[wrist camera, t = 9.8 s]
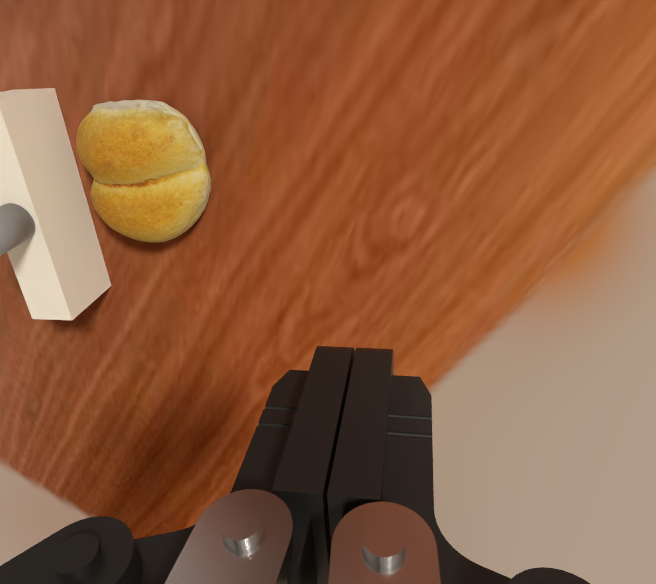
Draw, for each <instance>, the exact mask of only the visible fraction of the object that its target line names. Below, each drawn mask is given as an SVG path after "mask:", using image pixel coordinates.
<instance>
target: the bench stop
mask: <svg viewBox="0 0 656 584" xmlns="http://www.w3.org/2000/svg"><path fill="white" fill-rule="evenodd" d="M6 252H7V253H8V256H9V259H10V261H11V264H12V266H13V269H14V272H15V274H16V277H17V280H18V282H19V285H20V287H21V290H22V293H23V295H24V298H25V300H26V303H27V306H28V308H29V311H30V313H31V316H32V319H49V320H73V319H75V318H76V317H77V316H78V315H79V314H80V313H81V312H82V311H84V310H85V309H86V308H87V307H88V306H89V305H90V304H91V303H93V302H94V301H95V300H96V299H97V298H98V297H99V296H100V295H102V294H103V293H104V292H105V291H106V290H107V289H108V288H109V287H111V283H110V279H109V276H108V272H107V269H106V265H105V262H104V258H103V255H102V252H101V248H100V245H99V241H98V238H97V234H96V231H95V227H94V224H93V220H92V217H91V213H90V210H89V206H88V203H87V199H86V196H85V192H84V189H83V185H82V182H81V179H80V175H79V172H78V168H77V165H76V161H75V158H74V154H73V151H72V147H71V144H70V140H69V137H68V133H67V130H66V126H65V123H64V119H63V116H62V112H61V109H60V106H59V102H58V99H57V95H56V92H55V88H45V89H22V90H9V91H4V92H0V256H1V255H3V254H4V253H6Z"/></svg>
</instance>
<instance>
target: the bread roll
mask: <svg viewBox="0 0 656 584" xmlns="http://www.w3.org/2000/svg"><path fill="white" fill-rule="evenodd" d="M76 148H77V154H78V156H79V158H80V160H81V161H82V164H83V165H84V166H85V168H86V169H87V170H88V172H89V173H90V174H91V175H92V177H93V179H94V180H93V183H92V187H91V194H90V196H91V201H92V204H93V206H94V208H95V210H96V212H97V213H98V215H99V216H100V217H101V219H102V220H103V221H104V222H105V223H106V224H107V225H108V226H109V227H110V228H112V229H113V230H115V231H117V232H119V233H121V234H123V235H125V236H127V237H129V238H132V239H135V240H139V241H143V242H165V241H168V240H171V239H174V238H176V237H178V236H180V235H181V234H182V233H184V232H185V231H187V230H188V229H189V228H191V227H192V226H193V224H194V223H196V221H197V220H198V219H199V217H200V216H201V214H202V213H203V211H204V210H205V208H206V205H207V203H208V199H209V194H210V191H211V176H210V174H209V170H208V167H207V164H206V154H205V151H204V147H203V144H202V142H201V140H200V137H199V136H198V134H197V132H196V130H195V129H194V127H193V126H192V125H191V123H190V122H189V121H188V119H187V118H186V117H185V116H184V115H183V114H182V113H180V112H179V111H177V110H176V109H174V108H172V107H171V106H169V105H168V104H166V103H164V102H159V101H150V100H122V101H118V102H111V101H109V102H106V103H102V104H96V105H93V109H92V111H91V112H90V113H89V114H88V115H87V116H86V117H85V118H84V119H83V121H82V122H81V124H80V126H79V129H78V132H77V138H76Z"/></svg>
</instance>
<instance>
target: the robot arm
mask: <svg viewBox="0 0 656 584" xmlns="http://www.w3.org/2000/svg"><path fill="white" fill-rule="evenodd" d="M393 372H394V352H393V349H373V348H356V351H355V349H354V348H349V347H327V346H317V348H316V350H315V353H314V357H313V360H312V363H311V366H310V369H309V371H301V370H289V371H288V372H287V373H286V374H285V375H284V376H283V377H282V378H281V379H280V380H279V381H278V382H277V383H276V384H275V385H274V386H273V387H272V390H271V392H270V395H269V397H268V400H267V402H266V405H265V409H264V410H263V412H262V415H261V418H260V420H259V426H257V428H256V430H255V433H254V435H253V438H252V440H251V443H250V445H249V448H248V450H247V453H246V455H245V458H244V460H243V463H242V465H241V468H240V470H239V473H238V475H237V478H236V480H235V483H234V485H233V488H232V490H231V492H230V494H227V495H225V496H223V497H221V498H220V499H218V500H217V501H215V502H214V503H212V504H211V505H210V506H209V507H208V508H207V509H206V510H205V511H204V512H203V514H202V515H201V516H200V518H199V520H198V521H197V523H196V525H194V526H191V527H189V528H186V529H183V530H179V531H175V532H170V533H165V534H160V535H155V536H150V537H145V538H140V539H134V538H133V536H132V533H131V531H130V529H129V528H128V527H127V526H126V525H125V524H124V523H123V522H121V521H120V520H118V519H115V518H111V517H91V518H86V519H83V520H80V521H77V522H75V523H72V524H70V525H68V526H66V527H64V528H63V529H61V530H59V531H58V532H56V533H54V534H53V535H51V536H49V537H48V538H46V539H44V540H43V541H41V542H39V543H38V544H36V545H34V546H33V547H31V548H29V549H28V550H26V551H24V552H23V553H21V554H19V555H18V556H16V557H14V558H13V559H11V560H10V561H8V562H6V563H4V564H3V565H1V566H0V584H590V583H588V582H587V581H585V580H584V579H582V578H580V577H578V576H576V575H574V574H571V573H568V572H566V571H563V570H558V569H554V568H543V567H542V568H533V569H529V570H525V571H523V572H521V573H519V574H517V575H515V576H514V577H513V578H512V579H510V578H508V577H506V576H503V575H501V574H499V573H496V572H494V571H492V570H489V569H487V568H485V567H482V566H480V565H478V564H476V563H474V562H472V561H470V560H469V559H467V558H466V557H464V556H462V555H461V554H460V553H459V552H458V551H456V550H455V549H454V548H453V547H452V546H451V545H450V544H449V543H448V542H447V540H446V539H445V538H444V536H443V535H442V533H441V531H440V529H439V527H438V525H437V523H436V519H435V515H434V499H433V498H434V497H433V453H432V409H431V408H432V405H431V394H430V393H429V391H428V389H427V388H426V386H425V385H424V383H423V381H422V380H421V378H420V377H413V376H395V375H393Z"/></svg>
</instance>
